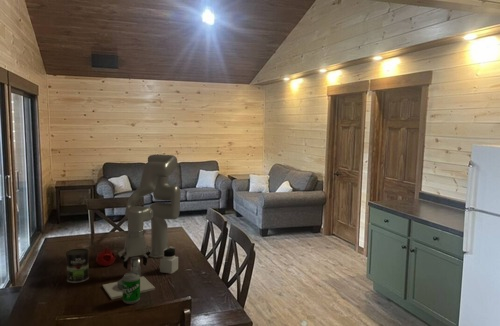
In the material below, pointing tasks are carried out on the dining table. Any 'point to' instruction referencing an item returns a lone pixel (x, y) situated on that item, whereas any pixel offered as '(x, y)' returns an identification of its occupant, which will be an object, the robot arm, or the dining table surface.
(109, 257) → the pomegranate
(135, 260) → the piston
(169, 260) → the medicine bottle
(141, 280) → the ring board
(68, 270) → the coffee can
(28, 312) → the dining table surface
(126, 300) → the soda can
